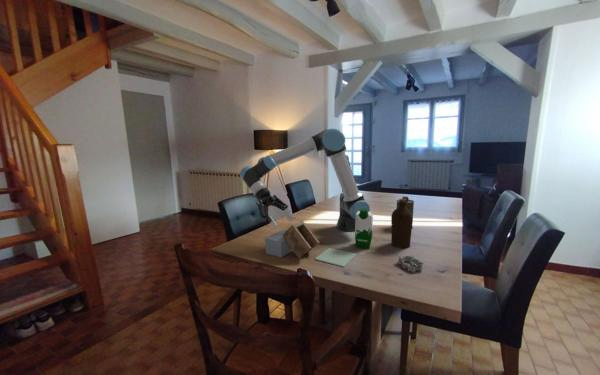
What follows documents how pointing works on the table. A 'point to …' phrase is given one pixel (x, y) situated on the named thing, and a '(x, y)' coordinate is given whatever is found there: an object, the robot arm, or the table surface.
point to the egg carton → (412, 263)
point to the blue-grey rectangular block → (277, 244)
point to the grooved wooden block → (300, 238)
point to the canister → (407, 204)
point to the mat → (336, 257)
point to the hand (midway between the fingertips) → (284, 223)
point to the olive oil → (401, 225)
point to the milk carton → (363, 229)
